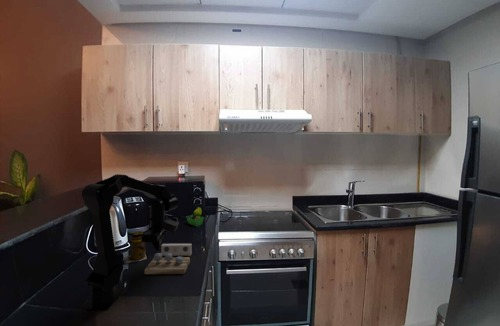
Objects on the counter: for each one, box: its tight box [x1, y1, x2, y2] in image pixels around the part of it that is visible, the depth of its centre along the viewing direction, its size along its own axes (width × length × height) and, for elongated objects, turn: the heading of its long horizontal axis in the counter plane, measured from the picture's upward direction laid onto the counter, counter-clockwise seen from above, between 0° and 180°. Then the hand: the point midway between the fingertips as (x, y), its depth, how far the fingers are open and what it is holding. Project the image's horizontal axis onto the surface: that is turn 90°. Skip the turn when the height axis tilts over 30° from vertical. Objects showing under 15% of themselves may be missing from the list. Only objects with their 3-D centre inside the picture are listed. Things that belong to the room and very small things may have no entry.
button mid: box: [164, 253, 173, 264], centre depth 94 cm, size 3×3×4 cm
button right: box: [175, 256, 184, 264], centre depth 94 cm, size 3×3×4 cm
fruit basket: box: [186, 206, 205, 227], centre depth 152 cm, size 11×9×11 cm
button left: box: [153, 252, 163, 264], centre depth 94 cm, size 3×3×4 cm
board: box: [144, 256, 191, 275], centre depth 94 cm, size 10×16×2 cm, turn 93°
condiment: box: [125, 230, 148, 264], centre depth 102 cm, size 7×8×12 cm
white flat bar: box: [160, 243, 193, 257], centre depth 106 cm, size 2×14×5 cm, turn 92°
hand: (157, 249), depth 93 cm, fingers closed
